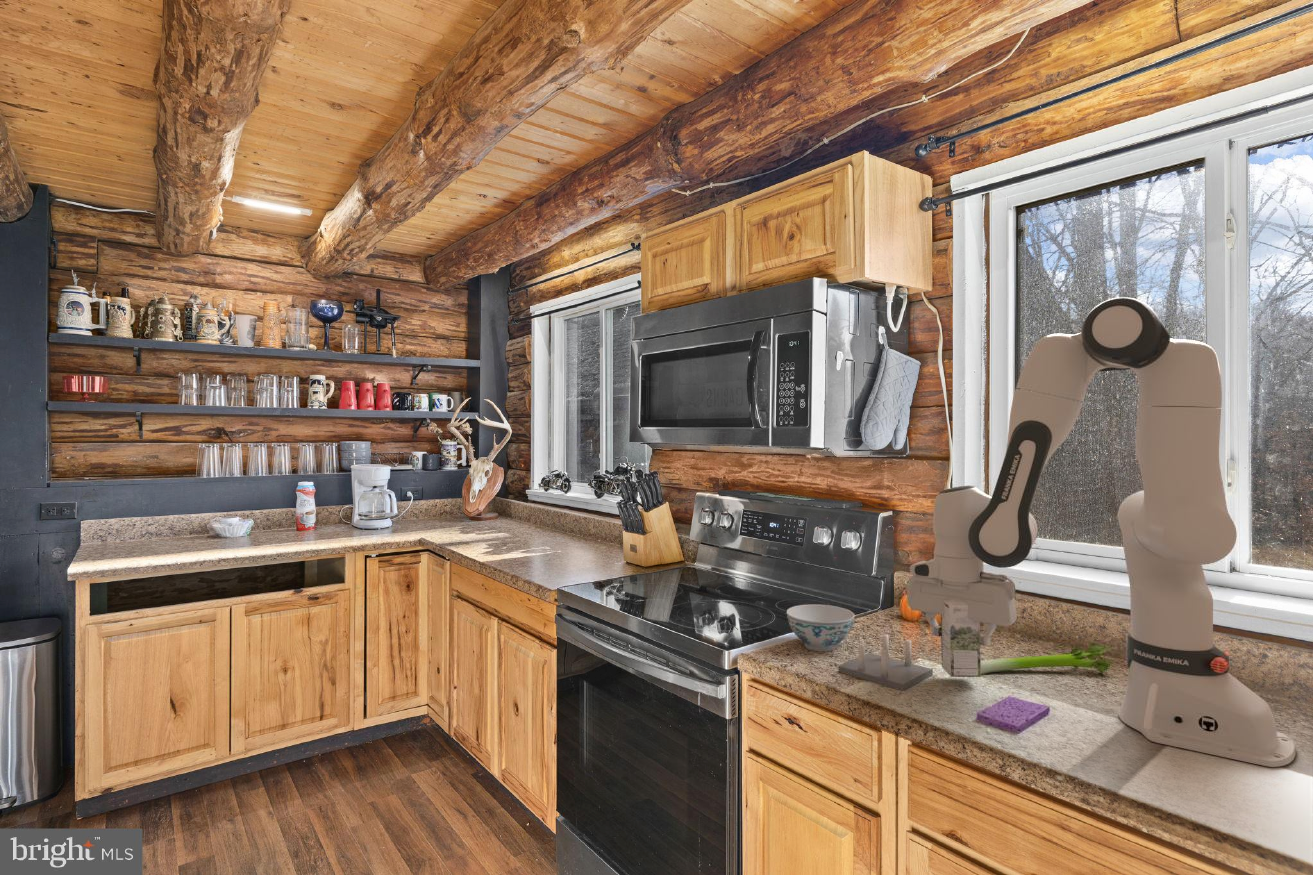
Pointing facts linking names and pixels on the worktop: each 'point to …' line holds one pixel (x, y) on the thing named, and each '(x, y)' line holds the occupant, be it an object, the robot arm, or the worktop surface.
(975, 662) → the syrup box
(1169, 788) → the worktop surface
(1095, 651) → the leek
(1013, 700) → the sponges
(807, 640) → the chinaware
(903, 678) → the pin tray
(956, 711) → the worktop surface
